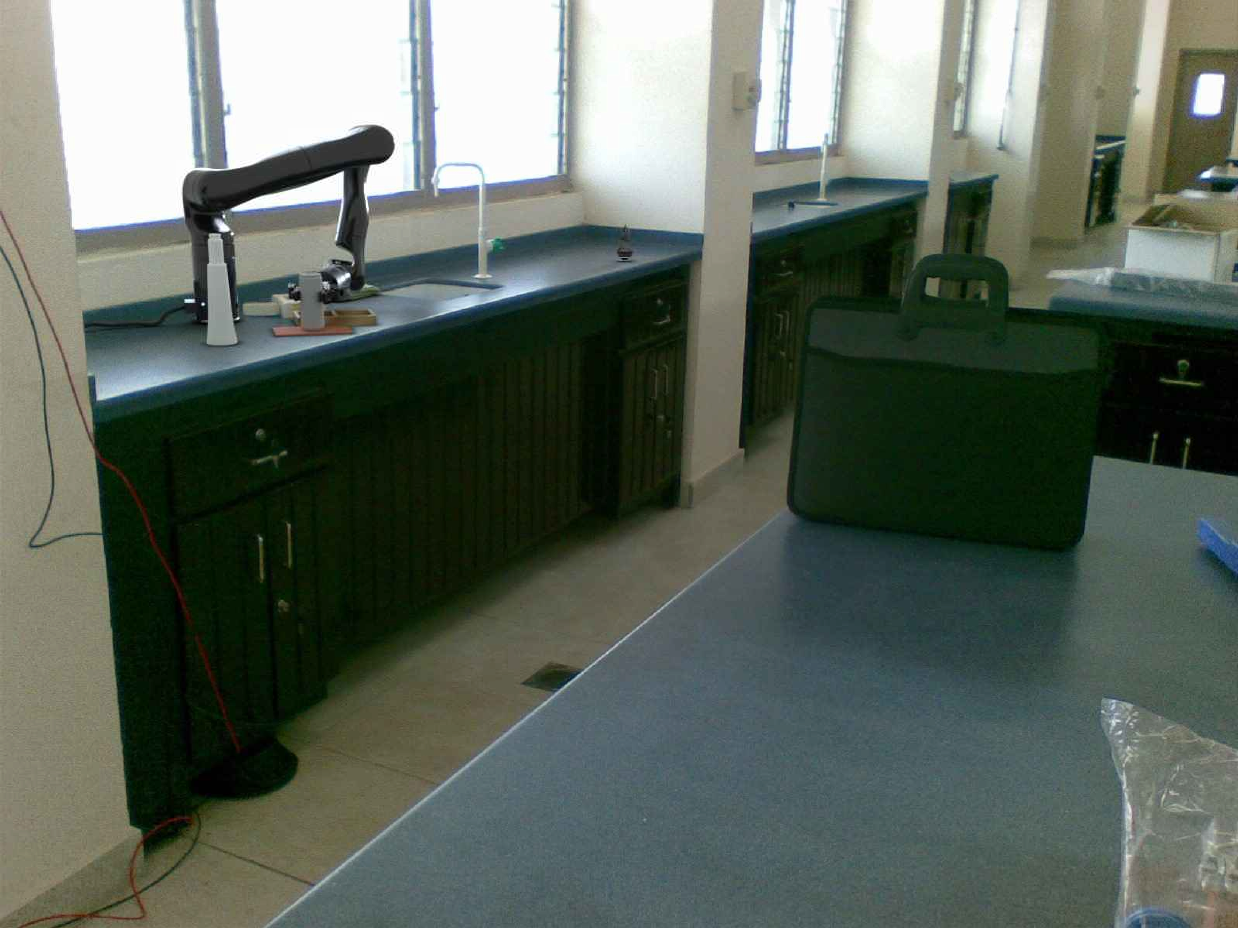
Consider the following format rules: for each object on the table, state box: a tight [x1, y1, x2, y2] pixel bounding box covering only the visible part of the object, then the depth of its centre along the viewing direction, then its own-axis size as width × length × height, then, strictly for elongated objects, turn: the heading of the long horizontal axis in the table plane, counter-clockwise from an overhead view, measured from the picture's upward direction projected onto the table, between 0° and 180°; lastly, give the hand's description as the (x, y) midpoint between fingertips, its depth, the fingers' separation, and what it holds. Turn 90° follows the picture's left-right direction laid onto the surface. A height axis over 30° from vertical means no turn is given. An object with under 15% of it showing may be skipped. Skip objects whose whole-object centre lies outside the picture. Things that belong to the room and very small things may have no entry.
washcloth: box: [334, 283, 380, 302], centre depth 308 cm, size 13×18×3 cm
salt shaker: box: [615, 223, 635, 260], centre depth 395 cm, size 6×6×12 cm
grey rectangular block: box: [298, 272, 325, 331], centre depth 258 cm, size 5×5×12 cm
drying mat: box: [272, 325, 354, 338], centre depth 260 cm, size 16×9×1 cm, turn 110°
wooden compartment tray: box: [293, 308, 378, 327], centre depth 271 cm, size 17×9×2 cm, turn 110°
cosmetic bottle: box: [206, 234, 238, 347], centre depth 242 cm, size 6×6×22 cm
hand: (308, 296), depth 255 cm, fingers closed on grey rectangular block, 4 cm apart
